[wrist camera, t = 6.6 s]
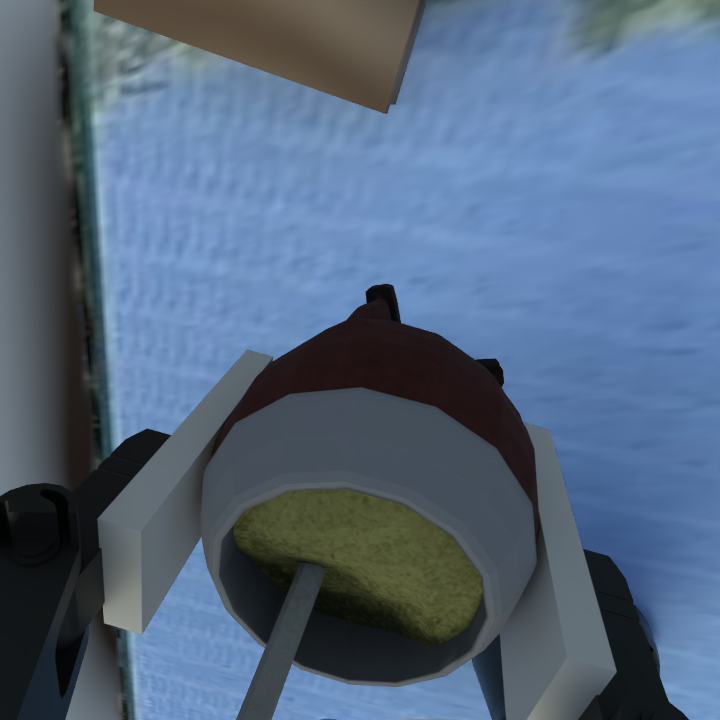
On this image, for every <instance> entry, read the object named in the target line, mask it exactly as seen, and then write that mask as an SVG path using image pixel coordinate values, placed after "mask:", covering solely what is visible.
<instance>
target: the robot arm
mask: <svg viewBox="0 0 720 720" xmlns="http://www.w3.org/2000/svg"><path fill="white" fill-rule="evenodd" d="M272 361H273V356H269V355H265V354H262V353H258V352H254V351H250V350H246V351H245V352H244V354H243V355H242V356H241V357H240V358H239V359H238V360H237V362H236V363H235V364H234V365H233V366H232V367H231V368H230V369H229V371H228V372H227V373H226V374H225V375H224V376H223V377H222V378H221V380H220V381H219V382H218V383H217V384H216V385H215V386H214V388H213V389H212V390H211V391H210V392H209V393H208V394H207V395H206V397H205V398H204V399H203V400H202V401H201V402H200V403H199V405H198V406H197V407H196V408H195V409H194V410H193V411H192V412H191V414H190V415H189V416H188V417H187V418H186V419H185V420H184V421H183V423H182V424H181V425H180V426H179V427H178V428H177V429H176V431H175V432H174V433H173V434H172V435H168V434H165V433H161V432H158V431H154V430H151V429H145V430H143V431H141V432H139V433H137V434H135V435H133V436H131V437H129V438H127V439H125V440H124V441H123V442H122V443H121V444H120V445H119V446H118V447H117V448H116V449H115V450H114V451H113V452H112V453H111V455H110V457H107V458H106V459H105V460H104V461H103V462H102V463H101V464H100V465H99V466H98V469H97V470H94V471H93V472H92V473H91V474H90V475H89V476H88V477H87V478H86V479H85V480H84V481H83V482H82V483H81V484H80V485H79V486H78V487H77V488H76V489H75V490H74V491H73V492H71V491H70V490H68V489H66V488H64V487H62V486H61V485H54V484H47V483H41V484H31V485H25V486H22V487H19V488H16V489H13V490H10V491H8V492H7V493H5V494H3V495H1V496H0V720H65V719H66V715H67V712H68V709H69V705H70V702H71V698H72V695H73V692H74V688H75V685H76V681H77V678H78V675H79V671H80V667H81V664H82V661H83V658H84V654H85V651H86V647H87V644H88V635H89V623H90V622H91V621H92V619H93V618H94V616H95V615H96V614H97V612H98V611H99V610H100V608H101V607H102V605H103V612H104V623H106V624H109V625H112V626H116V627H119V628H122V629H125V630H129V631H132V632H135V633H138V634H143V632H144V630H145V629H146V627H147V626H148V624H149V622H150V621H151V619H152V617H153V616H154V614H155V612H156V611H157V609H158V607H159V606H160V604H161V602H162V601H163V599H164V597H165V596H166V594H167V592H168V591H169V589H170V587H171V586H172V584H173V583H174V581H175V579H176V578H177V576H178V574H179V573H180V571H181V569H182V568H183V566H184V564H185V563H186V561H187V559H188V558H189V556H190V554H191V553H192V551H193V549H194V548H195V546H196V544H197V543H198V541H199V540H200V538H201V536H202V534H201V525H200V521H201V504H202V487H203V474H204V469H205V468H206V466H207V465H208V463H209V462H210V460H211V456H212V452H213V449H214V445H215V441H216V439H217V437H218V435H219V434H220V432H221V430H222V429H223V427H224V425H225V423H226V422H227V420H228V418H229V417H230V415H231V414H232V412H233V411H234V409H235V408H236V406H237V405H238V403H239V402H240V400H241V399H242V397H243V396H244V394H245V393H246V391H247V390H248V388H249V387H250V385H251V384H252V382H253V380H254V379H255V377H256V376H257V375H258V374H259V373H261V372H262V371H263V370H264V369H265V368H266V367H267V366H268V365H269V364H270V363H271V362H272ZM524 425H525V427H526V428H527V431H528V433H529V436H530V439H531V441H532V444H533V447H534V449H535V463H536V477H537V491H538V507H539V524H540V530H539V536H538V541H537V546H536V556H537V564H536V568H535V570H534V572H533V574H532V576H531V578H530V580H529V582H528V584H527V586H526V588H525V590H524V591H523V593H522V595H521V597H520V599H519V601H518V603H517V605H516V607H515V609H514V611H513V613H512V614H511V616H510V618H509V619H508V621H507V622H506V624H505V625H504V627H503V629H502V630H501V632H500V633H499V634H498V635H497V636H496V638H495V639H494V640H493V641H492V642H491V643H490V644H489V645H488V646H487V648H486V649H485V650H484V651H482V652H481V653H479V654H478V655H476V656H475V657H473V658H472V663H473V666H474V669H475V672H476V675H477V678H478V681H479V683H480V686H481V689H482V692H483V695H484V698H485V701H486V703H487V706H488V709H489V712H490V715H491V718H492V720H689V719H688V718H687V717H686V716H685V715H684V714H683V713H682V712H681V711H680V710H679V709H677V708H676V707H675V706H673V705H672V704H671V703H669V701H668V698H667V696H666V693H665V690H664V687H663V685H662V682H661V679H660V661H659V655H658V650H657V647H656V644H655V641H654V639H653V636H652V633H651V630H650V627H649V625H648V623H647V621H646V619H645V617H644V616H643V615H642V613H641V612H640V611H639V610H638V609H637V608H636V607H635V606H634V605H633V599H632V596H631V593H630V590H629V587H628V584H627V582H626V579H625V577H624V576H623V575H622V573H621V572H620V570H619V569H618V568H617V566H616V565H615V564H614V562H613V561H612V560H611V558H610V557H609V556H606V555H603V554H599V553H595V552H592V551H588V550H585V549H583V548H582V544H581V541H580V537H579V533H578V530H577V526H576V522H575V519H574V515H573V512H572V508H571V504H570V501H569V497H568V493H567V490H566V486H565V483H564V479H563V475H562V472H561V468H560V465H559V461H558V457H557V454H556V450H555V446H554V443H553V439H552V436H551V432H550V430H548V429H544V428H540V427H537V426H533V425H529V424H525V423H524ZM321 720H336V719H321Z"/></svg>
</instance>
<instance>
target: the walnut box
mask: <svg viewBox="0 0 720 720" xmlns="http://www.w3.org/2000/svg"><path fill="white" fill-rule="evenodd" d="M426 2H427V0H94V11H95V12H98V13H101V14H104V15H107V16H110V17H112V18H115V19H118V20H121V21H124V22H127V23H129V24H132V25H135V26H138V27H141V28H144V29H146V30H149V31H152V32H155V33H158V34H161V35H163V36H166V37H169V38H172V39H175V40H178V41H180V42H183V43H186V44H189V45H192V46H195V47H197V48H200V49H203V50H206V51H209V52H212V53H215V54H217V55H220V56H223V57H226V58H229V59H232V60H234V61H237V62H240V63H243V64H246V65H249V66H251V67H254V68H257V69H260V70H263V71H266V72H268V73H271V74H274V75H277V76H280V77H283V78H285V79H288V80H291V81H294V82H297V83H300V84H302V85H305V86H308V87H311V88H314V89H317V90H319V91H322V92H325V93H328V94H331V95H334V96H336V97H339V98H342V99H345V100H348V101H351V102H353V103H356V104H359V105H362V106H365V107H368V108H370V109H373V110H376V111H379V112H382V113H385V114H387V113H388V110H389V107H390V104H396V100H397V97H398V94H399V91H400V87H401V84H402V81H403V77H404V74H405V71H406V68H407V64H408V61H409V58H410V54H411V51H412V48H413V44H414V41H415V38H416V35H417V31H418V28H419V25H420V21H421V18H422V15H423V12H424V8H425V5H426Z"/></svg>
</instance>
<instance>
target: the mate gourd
mask: <svg viewBox="0 0 720 720" xmlns="http://www.w3.org/2000/svg"><path fill="white" fill-rule="evenodd" d="M366 301H367V304H364V305H362V306H360V307H358V308H357V309H356V310H355V311H354V312H353V313H352V314H351V316H350V317H349V318H348V319H347V320H346V321H344V322H342V323H339V324H337V325H335V326H333V327H330V328H328V329H326V330H324V331H323V332H321V333H320V334H318V335H316V336H315V337H313V338H311V339H310V340H308V341H306V342H305V343H303V344H301V345H300V346H298V347H296V348H295V349H293V350H291V351H290V352H288V353H286V354H284V355H283V356H281V357H279V358H278V359H276V360H274V361H273V362H271V363H270V364H269V365H268V366H267V367H266V368H265V369H264V370H263V371H262V372H261V373H259V374H258V375H257V376H256V377H255V379H254V380H253V382H252V384H251V385H250V387H249V388H248V390H247V391H246V393H245V394H244V396H243V397H242V399H241V400H240V402H239V403H238V405H237V406H236V408H235V409H234V411H233V412H232V414H231V415H230V417H229V418H228V420H227V422H226V423H225V425H224V427H223V429H222V430H221V432H220V434H219V435H218V437H217V439H216V441H215V445H214V449H213V452H212V456H211V460H210V462H209V463H208V465H207V466H206V468H205V469H204V474H203V487H202V504H201V521H200V525H201V534H202V542H203V549H204V554H205V558H206V563H207V568H208V570H209V573H210V575H211V577H212V580H213V582H214V584H215V586H216V589H217V591H218V593H219V596H220V598H221V600H222V602H223V605H224V607H225V609H226V610H227V612H228V613H229V614H230V615H231V616H232V617H233V618H234V619H235V620H236V621H237V622H238V623H239V624H240V625H241V626H242V627H243V628H244V629H245V630H246V631H247V632H248V633H249V634H250V635H251V637H252V638H253V639H254V640H255V641H256V642H257V643H258V644H259V645H261V646H262V647H264V648H265V650H264V653H263V655H262V657H261V660H260V662H259V665H258V667H257V670H256V672H255V675H254V677H253V680H252V682H251V684H250V687H249V689H248V692H247V694H246V697H245V699H244V702H243V704H242V707H241V709H240V712H239V714H238V716H237V719H236V720H271V719H272V716H273V714H274V711H275V708H276V705H277V703H278V700H279V697H280V695H281V692H282V689H283V686H284V684H285V681H286V678H287V675H288V673H289V670H290V667H291V665H292V664H293V665H294V666H296V667H298V668H300V669H301V670H305V671H308V672H311V673H314V674H317V675H321V676H324V677H327V678H330V679H333V680H337V681H340V682H343V683H346V684H353V685H371V686H389V687H401V686H405V685H409V684H414V683H418V682H422V681H427V680H431V679H435V678H440V677H444V676H446V675H448V674H450V673H451V672H453V671H454V670H456V669H457V668H459V667H460V666H461V665H463V664H464V663H466V662H467V661H469V660H470V659H472V658H473V657H475V656H476V655H478V654H479V653H481V652H482V651H484V650H485V649H486V648H487V646H488V645H489V644H490V643H491V642H492V641H493V640H494V639H495V638H496V636H497V635H498V634H499V633H500V632H501V630H502V629H503V627H504V625H505V624H506V622H507V621H508V619H509V618H510V616H511V614H512V613H513V611H514V609H515V607H516V605H517V603H518V601H519V599H520V597H521V595H522V593H523V591H524V590H525V588H526V586H527V584H528V582H529V580H530V578H531V576H532V574H533V572H534V570H535V568H536V564H537V556H536V546H537V541H538V536H539V530H540V524H539V507H538V491H537V477H536V463H535V449H534V447H533V444H532V441H531V439H530V436H529V433H528V431H527V428H526V427H525V425H524V423H523V422H522V419H521V416H520V414H519V412H518V411H517V409H516V408H515V407H514V405H513V404H512V402H511V401H510V400H509V398H508V397H507V396H506V394H505V393H504V391H503V389H502V388H501V387H502V385H503V384H504V377H503V370H502V368H501V367H500V364H499V362H498V361H497V359H478V360H474V359H473V358H472V357H470V356H469V355H467V354H466V353H465V352H463V351H462V350H460V349H459V348H457V347H456V346H455V345H453V344H452V343H450V342H449V341H448V340H446V339H445V338H443V337H442V336H440V335H438V334H436V333H433V332H429V331H426V330H422V329H419V328H416V327H412V326H409V325H405V324H402V323H401V320H400V314H399V309H398V303H397V298H396V295H395V291H394V287H393V286H392V285H389V284H382V285H375V286H372V287H371V288H369V289H368V290H367V291H366Z"/></svg>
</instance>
